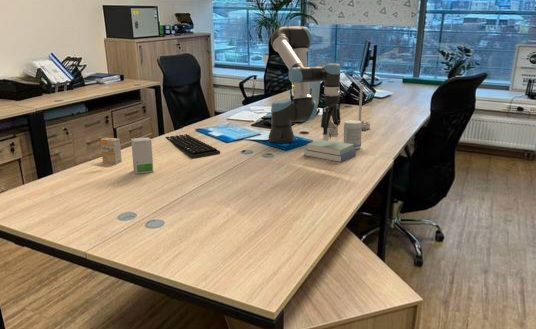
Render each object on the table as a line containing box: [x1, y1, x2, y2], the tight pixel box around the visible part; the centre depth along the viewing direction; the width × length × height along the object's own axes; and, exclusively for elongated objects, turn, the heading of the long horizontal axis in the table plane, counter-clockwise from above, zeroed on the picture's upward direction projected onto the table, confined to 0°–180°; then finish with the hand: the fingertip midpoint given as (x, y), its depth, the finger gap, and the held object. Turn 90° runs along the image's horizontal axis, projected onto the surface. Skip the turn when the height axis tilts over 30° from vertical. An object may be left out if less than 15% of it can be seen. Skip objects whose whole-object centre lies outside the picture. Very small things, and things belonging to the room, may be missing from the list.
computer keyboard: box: [165, 133, 221, 159], centre depth 250 cm, size 45×16×4 cm, turn 32°
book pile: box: [303, 138, 357, 163], centre depth 232 cm, size 22×15×6 cm
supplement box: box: [99, 137, 123, 166], centre depth 219 cm, size 8×5×13 cm, turn 70°
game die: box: [322, 120, 340, 140], centre depth 229 cm, size 9×8×10 cm
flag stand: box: [358, 83, 371, 131], centre depth 285 cm, size 13×13×30 cm
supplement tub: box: [343, 119, 363, 150], centre depth 246 cm, size 10×10×15 cm
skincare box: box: [130, 137, 154, 175], centre depth 208 cm, size 8×7×16 cm
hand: (330, 138), depth 231 cm, fingers closed on game die, 9 cm apart
